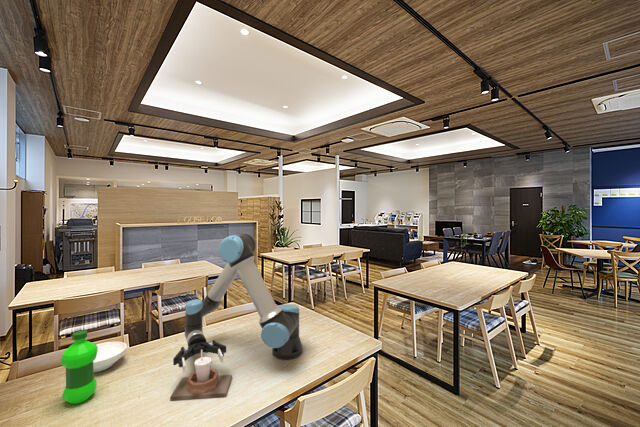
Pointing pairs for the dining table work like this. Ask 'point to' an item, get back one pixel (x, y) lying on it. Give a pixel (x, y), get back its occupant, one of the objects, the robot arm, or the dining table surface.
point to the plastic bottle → (79, 369)
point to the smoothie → (203, 368)
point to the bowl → (108, 354)
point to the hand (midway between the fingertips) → (203, 364)
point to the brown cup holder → (202, 387)
